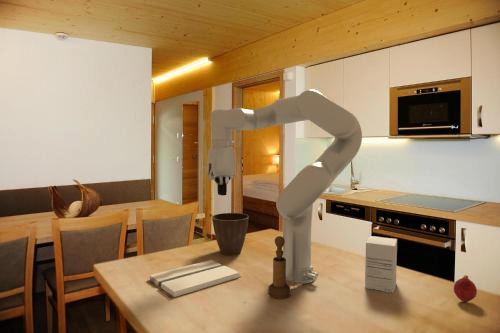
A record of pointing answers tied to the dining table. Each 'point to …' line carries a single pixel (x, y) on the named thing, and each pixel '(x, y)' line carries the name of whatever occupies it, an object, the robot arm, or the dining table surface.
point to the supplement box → (381, 264)
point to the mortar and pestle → (279, 273)
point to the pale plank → (199, 280)
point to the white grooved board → (182, 274)
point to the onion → (465, 289)
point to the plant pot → (230, 232)
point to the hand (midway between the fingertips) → (222, 194)
